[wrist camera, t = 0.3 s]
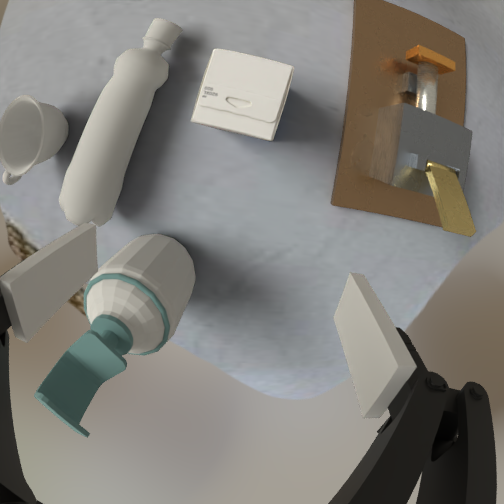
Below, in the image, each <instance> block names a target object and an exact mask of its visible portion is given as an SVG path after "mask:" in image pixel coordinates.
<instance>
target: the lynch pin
mask: <svg viewBox="0 0 504 504" xmlns="http://www.w3.org/2000/svg"><path fill="white" fill-rule="evenodd" d="M406 60H407V61H410V62H412V63H415V64H417V65H418V72H417V89H416V102H415V107H418V108H420V109H423V110H426V111H428V112H431V113H433V114H436V104H437V89H438V74H440V75H441V74H445V73H449V72H453V71H455V62H454V61H452V60H450V59H448V58H446V57H444V56H442V55H440V54H438V53H436V52H434V51H432V50H430V49H428V48H425V47H423V46H421V45H418V46H416V47H414V48H412V49H410V50H408V51H406Z"/></svg>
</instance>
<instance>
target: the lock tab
mask: <svg viewBox="0 0 504 504" xmlns="http://www.w3.org/2000/svg"><path fill="white" fill-rule="evenodd" d="M425 171H426V174H427V177H428V180H429V183H430V186H431V189H432V192H433V195H434V198H435V202H436V205H437V209H438V212H439V216H440V219H441V223H442V227H443V230H445V231H449V232H453V233H457V234H462V235H466V236H470V237H471V236H472V235H473V234H474V233H475V232H476V230H475V226H474V223H473V220H472V217H471V214H470V211H469V208H468V205H467V202H466V199H465V197H464V194H463V191H462V189H461V186H460V183H459V181H458V178H457V176H456V171H455V169H453V168H450V167H447V166H444V165H442V164H439V163H436V162H433V161H430V160H427V161H426V167H425Z"/></svg>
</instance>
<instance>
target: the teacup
mask: <svg viewBox="0 0 504 504" xmlns="http://www.w3.org/2000/svg"><path fill="white" fill-rule="evenodd" d="M68 132H69V126H68V122H67V120H66V119H65V117H64V115H63V113H62V112H61V111H60V110H59V109H58V108H56V107H55V106H52V105H49V104H45V103H40V102H38V101H37V100H36V99H35V98H33V97H32V96H29V95H23V96H20V97H18V98H16V99H15V100H14V101H13V102H12V103H11V104H10V105H9V106H8V108H7V109H6V111H5V112H4V114H3V116H2V119H1V122H0V160H1V163H2V165H3V166H4V168H5V169H6V170H5V172H4V174H3V181H4V183H5V184H7V185H12V184H14V183H16V182H17V181H18V180H19V179H20V178H21V177H22V175H24V174H26V173H27V172H28V171H30V169H31V168H32V167H33V166H34V165H36V164H39V163H41V162H44V161H46V160H48V159H50V158H51V157H53V156H54V155H55V154H56V153H57V152H58V151H59V150H60V148H61V147H62V145H63V144H64V143H65V141H66V139H67V136H68ZM11 174H12V175H13V176H12V177H10V175H11ZM9 177H10V178H9Z"/></svg>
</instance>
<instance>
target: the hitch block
mask: <svg viewBox="0 0 504 504" xmlns="http://www.w3.org/2000/svg"><path fill="white" fill-rule="evenodd" d="M418 45H421V46H423V47H425V48H428V49H430V50H432V51H434V52H436V53H438V54H440V55H442V56H444V57H446V58H448V59H450V60H452V61H454V62H455V71H453V72H449V73H445V74H441V75H440V74H438V89H437V104H436V114H433V113H431V112H428V111H426V110H423V109H420V108H418V107H415V102H416V89H417V72H418V65H417V64H415V63H412V62H410V61H407V60H406V51H408V50H410V49H412V48H414V47H416V46H418ZM465 93H466V54H465V38H463V37H462V36H460V35H458V34H456V33H455V32H453V31H451V30H449V29H447V28H445V27H443V26H441V25H440V24H438V23H436V22H433V21H431V20H429V19H427V18H425V17H423V16H421V15H418V14H416V13H414V12H412V11H409V10H407V9H404V8H402V7H399V6H397V5H394V4H391V3H389V2H386V1H383V0H354V14H353V33H352V47H351V60H350V71H349V81H348V91H347V100H346V108H345V116H344V124H343V131H342V138H341V145H340V151H339V158H338V164H337V170H336V176H335V182H334V188H333V193H332V199H331V204H332V205H334V206H340V207H346V208H352V209H357V210H363V211H368V212H373V213H378V214H384V215H389V216H394V217H398V218H403V219H408V220H413V221H417V222H422V223H426V224H431V225H435V226H439V227H442V223H441V219H440V216H439V212H438V209H437V205H436V202H435V198H434V195H433V192H432V189H431V186H430V183H429V180H428V177H427V174H426V171H425V167H426V161H427V160H430V161H433V162H436V163H439V164H442V165H444V166H447V167H450V168H453V169H455V171H456V176H457V178H458V181H459V183H460V186H461V189H462V191H463V189H464V184H465V179H466V174H467V168H468V162H469V155H470V148H471V140H472V131H471V130H469V129H467V128H465V127H463V123H464V111H465Z"/></svg>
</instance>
